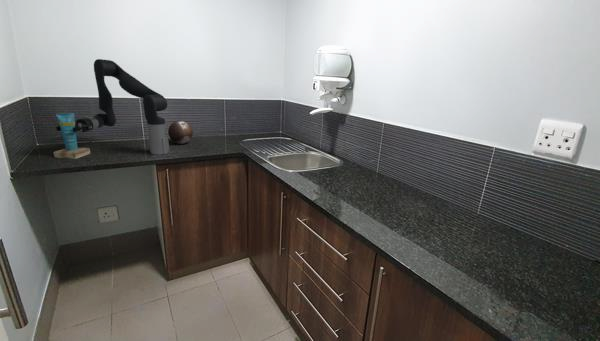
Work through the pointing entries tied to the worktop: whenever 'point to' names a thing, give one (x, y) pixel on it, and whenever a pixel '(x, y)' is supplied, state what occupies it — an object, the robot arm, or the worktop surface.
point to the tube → (68, 130)
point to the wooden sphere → (180, 132)
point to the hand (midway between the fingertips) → (65, 129)
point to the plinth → (71, 153)
